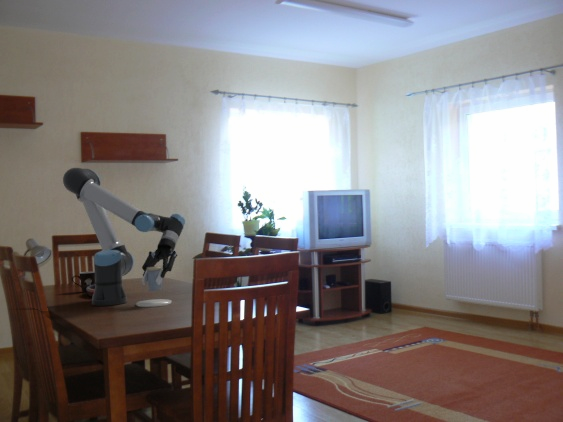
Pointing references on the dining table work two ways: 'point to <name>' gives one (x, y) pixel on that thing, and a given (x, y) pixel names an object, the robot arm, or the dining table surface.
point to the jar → (153, 278)
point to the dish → (91, 290)
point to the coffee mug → (86, 280)
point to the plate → (153, 303)
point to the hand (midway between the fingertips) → (150, 283)
